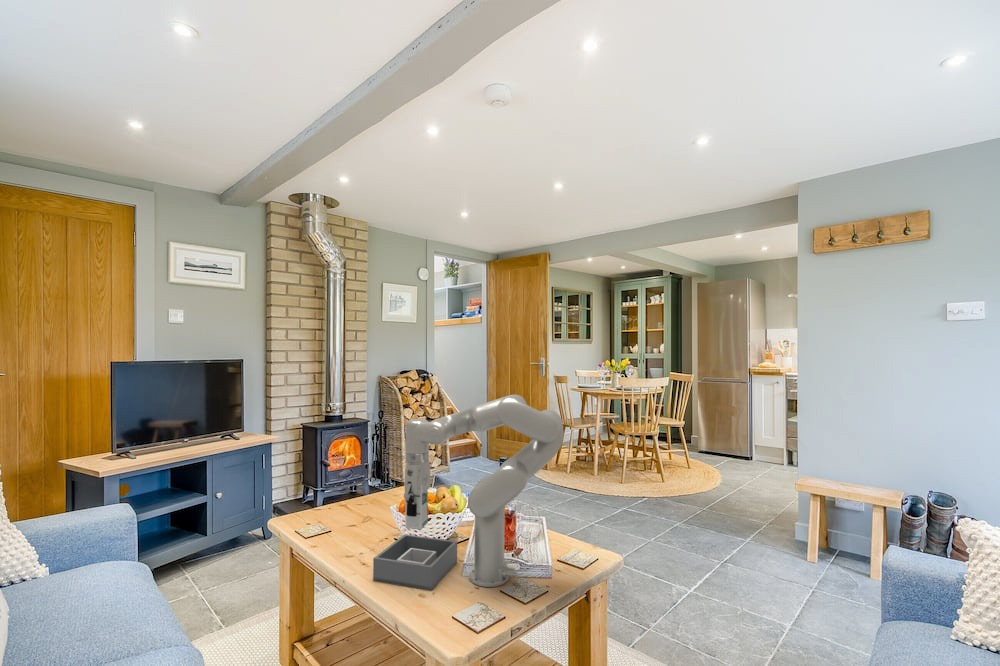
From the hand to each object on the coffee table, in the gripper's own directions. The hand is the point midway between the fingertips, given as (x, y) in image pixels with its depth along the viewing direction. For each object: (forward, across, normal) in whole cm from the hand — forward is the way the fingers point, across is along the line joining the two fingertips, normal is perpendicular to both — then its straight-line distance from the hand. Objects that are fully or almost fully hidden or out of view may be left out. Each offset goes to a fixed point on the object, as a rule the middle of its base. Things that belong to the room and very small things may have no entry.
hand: (416, 511), depth 160 cm
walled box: (+19, 0, 0) cm, 19 cm away
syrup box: (+5, 0, 0) cm, 5 cm away
